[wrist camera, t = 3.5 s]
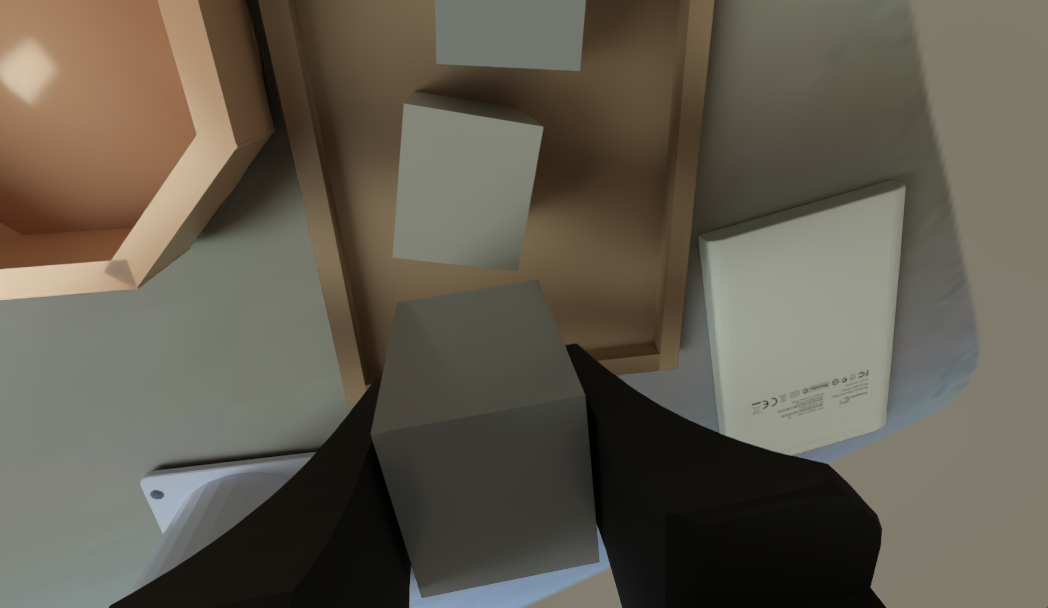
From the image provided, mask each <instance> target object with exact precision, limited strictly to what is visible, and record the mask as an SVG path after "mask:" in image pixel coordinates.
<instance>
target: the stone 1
mask: <svg viewBox="0 0 1048 608" xmlns="http://www.w3.org/2000/svg"><path fill="white" fill-rule="evenodd" d="M585 6H586V0H435V17H436V64H448V65H468V66H488V67H508V68H528V69H548V70H568V71H580V65H581V53H582V41H583V29H584V17H585Z"/></svg>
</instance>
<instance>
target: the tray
mask: <svg viewBox="0 0 1048 608" xmlns="http://www.w3.org/2000/svg"><path fill="white" fill-rule="evenodd" d="M258 2H259V7H260V11H261V16H262V20H263V25H264V29H265V34H266V38H267V43H268V47H269V52H270V56H271V61H272V65H273V70H274V74H275V79H276V83H277V88H278V92H279V97H280V101H281V106H282V111H283V115H284V120H285V124H286V129H287V133H288V138H289V142H290V147H291V151H292V156H293V160H294V165H295V169H296V174H297V178H298V183H299V187H300V192H301V196H302V201H303V205H304V210H305V214H306V219H307V223H308V228H309V232H310V237H311V241H312V246H313V250H314V255H315V259H316V264H317V268H318V273H319V277H320V282H321V286H322V291H323V295H324V300H325V304H326V309H327V314H328V318H329V323H330V327H331V332H332V336H333V341H334V345H335V350H336V354H337V359H338V363H339V368H340V372H341V377H342V381H343V386H344V390H345V395H346V399H347V404H355V403H357V402H358V401H359V400H360V398H361V397H362V396H363V395H364V393H365V392H366V391H367V389H368V388H369V387H370V385H371V384H372V383H373V382H374V380H375V379H376V378H379V377H382V375H383V370H384V365H385V360H386V355H387V350H388V345H389V340H390V335H391V330H392V325H393V320H394V315H395V310H396V305H397V303H399V302H405V301H411V300H417V299H423V298H429V297H435V296H441V295H447V294H453V293H459V292H466V291H472V290H478V289H484V288H490V287H496V286H502V285H508V284H514V283H520V282H526V281H532V280H538V281H539V283H540V286H541V288H542V291H543V293H544V296H545V298H546V300H547V303H548V305H549V308H550V310H551V313H552V315H553V318H554V320H555V322H556V325H557V327H558V330H559V332H560V335H561V337H562V340H563V342H564V345H569V344H575V343H577V344H578V345H579V346H581V347H582V348H583V349H584V350H585V351H586V352H588V353H589V354H590V355H591V356H592V357H593V358H595V359H596V360H597V361H598V362H599V363H601V364H602V365H603V366H604V367H605V368H607V369H608V370H609V371H610V372H612V373H613V374H614V375H622V374H631V373H640V372H650V371H659V370H668V369H677V367H678V357H679V348H680V338H681V328H682V318H683V308H684V298H685V288H686V278H687V268H688V258H689V248H690V238H691V229H692V219H693V209H694V199H695V189H696V179H697V169H698V159H699V149H700V139H701V129H702V119H703V109H704V100H705V90H706V80H707V70H708V60H709V50H710V40H711V30H712V20H713V10H714V0H586V6H585V17H584V29H583V41H582V53H581V65H580V71H568V70H548V69H528V68H508V67H488V66H468V65H448V64H436V17H435V0H258ZM414 91H419V92H425V93H431V94H437V95H443V96H449V97H454V98H460V99H466V100H472V101H478V102H484V103H489V104H495V105H501V106H507V107H513V108H519V109H520V110H522V111H523V112H524V113H526V114H527V115H528V116H530V117H531V118H533V119H534V120H535V121H537V122H538V123H539V124H541V125H542V126H543V133H542V138H541V144H540V150H539V155H538V161H537V167H536V172H535V178H534V184H533V189H532V195H531V201H530V206H529V212H528V218H527V223H526V229H525V235H524V240H523V246H522V252H521V257H520V263H519V269H518V272H517V271H508V270H499V269H490V268H481V267H472V266H463V265H454V264H445V263H436V262H427V261H418V260H409V259H400V258H392V257H393V243H394V230H395V216H396V203H397V189H398V175H399V162H400V148H401V135H402V121H403V107H404V103H405V101H406V100H407V99H408V98H409V97H410V96H411V94H412V93H413V92H414Z"/></svg>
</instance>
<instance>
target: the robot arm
mask: <svg viewBox="0 0 1048 608" xmlns="http://www.w3.org/2000/svg"><path fill="white" fill-rule="evenodd" d="M565 347H566V349H567V352H568V354H569V357H570V359H571V362H572V364H573V367H574V369H575V371H576V374H577V376H578V379H579V381H580V384H581V386H582V389H583V391H584V393H585V398H586V410H587V421H588V433H589V445H590V456H591V468H592V480H593V492H594V503H595V515H596V524H597V526H598V529H599V531H600V534H601V537H602V540H603V543H604V546H605V548H606V552H607V555H608V559H609V562H610V566H611V569H612V573H613V576H614V580H615V583H616V587H617V590H618V594H619V597H620V601H621V604H622V608H886V607H885V606H884V604H883V603H882V602H881V600H880V599H879V598H878V597H877V595H876V594H875V593H874V592H873V591H872V589H871V588H870V586H871V582H872V578H873V574H874V570H875V566H876V562H877V558H878V554H879V550H880V545H881V535H882V534H881V533H882V528H881V525H880V522H879V519H878V516H877V514H876V513H875V512H874V511H873V510H872V509H871V508H870V507H869V506H868V505H867V504H866V503H865V502H864V500H863V499H862V498H861V497H860V496H859V495H858V493H856V491H855V490H854V489H853V488H852V487H851V486H850V485H849V484H848V483H847V482H846V481H845V480H844V479H843V478H842V477H841V476H840V475H839V474H838V473H837V472H836V471H835V470H834V469H833V468H831V467H830V466H829V465H828V464H825V463H821V462H816V461H812V460H808V459H804V458H799V457H795V456H791V455H787V454H782V453H778V452H774V451H771V450H768V449H764V448H761V447H758V446H755V445H752V444H748V443H745V442H742V441H739V440H736V439H734V438H731V437H728V436H725V435H723V434H720V433H718V432H715V431H713V430H710V429H708V428H706V427H703V426H701V425H698V424H696V423H694V422H692V421H690V420H687V419H685V418H683V417H681V416H679V415H678V414H676V413H674V412H672V411H670V410H668V409H666V408H664V407H662V406H660V405H659V404H657V403H655V402H654V401H652V400H650V399H649V398H647V397H646V396H644V395H642V394H641V393H639V392H638V391H636V390H635V389H633V388H632V387H630V386H629V385H628V384H626V383H625V382H624V381H622V380H621V379H620V378H618V377H617V376H616V375H614V374H613V373H612V372H610V371H609V370H608V369H607V368H605V367H604V366H603V365H602V364H601V363H599V362H598V361H597V360H596V359H595V358H593V357H592V356H591V355H590V354H589V353H588V352H586V351H585V350H584V349H583V348H582V347H581V346H579V345H578V344H577V343H575V344H569V345H565ZM381 380H382V377H379V378H376V379H375V380H374V382H373V383H372V384H371V385H370V387H369V388H368V389H367V391H366V392H365V393H364V395H363V396H362V397H361V398H360V400H359V401H358V402H357V404H356V405H355V406H354V408H353V409H352V410H351V412H350V413H349V414H348V416H347V417H346V418H345V419H344V421H343V422H342V423H341V424H340V426H339V427H338V428H337V429H336V431H335V432H334V433H333V434H332V435H331V436H330V437H329V438H328V440H327V441H326V442H325V443H324V444H323V445H322V446H321V448H320V449H319V450H318V451H317V452H310V453H302V454H293V455H285V456H276V457H267V458H259V459H250V460H242V461H233V462H225V463H216V464H208V465H199V466H190V467H182V468H173V469H165V470H156V471H151V472H148V473H147V474H146V475H145V476H144V477H143V479H142V480H141V483H140V484H141V488H142V490H143V492H144V494H145V496H146V498H147V500H148V503H149V505H150V507H151V509H152V511H153V513H154V516H155V518H156V520H157V522H158V524H159V526H160V529H161V531H162V533H163V536H162V537H161V539H160V541H159V542H158V544H157V546H156V547H155V549H154V551H153V553H152V554H151V556H150V558H149V559H148V561H147V563H146V564H145V566H144V568H143V570H142V571H141V573H140V575H139V576H138V578H137V580H136V581H135V583H134V585H133V587H132V588H131V590H130V592H129V593H128V595H127V596H126V597H125V598H123V599H121V600H119V601H117V602H116V603H114V604H112V605H110V607H109V608H409V586H410V573H411V562H410V559H409V555H408V552H407V549H406V546H405V543H404V539H403V536H402V533H401V530H400V527H399V523H398V520H397V517H396V514H395V511H394V507H393V504H392V501H391V498H390V495H389V492H388V488H387V485H386V482H385V479H384V476H383V472H382V469H381V466H380V463H379V460H378V456H377V453H376V450H375V447H374V444H373V440H372V437H371V430H372V425H373V420H374V415H375V410H376V405H377V400H378V395H379V390H380V385H381ZM157 490H159V491H162V492H158V491H157ZM1047 608H1048V607H1047Z"/></svg>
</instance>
